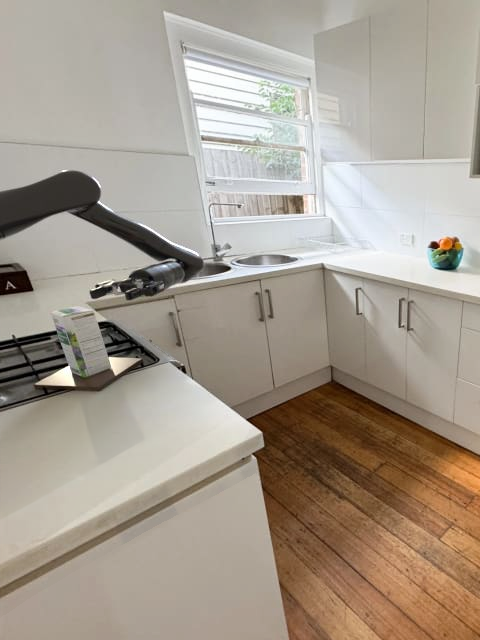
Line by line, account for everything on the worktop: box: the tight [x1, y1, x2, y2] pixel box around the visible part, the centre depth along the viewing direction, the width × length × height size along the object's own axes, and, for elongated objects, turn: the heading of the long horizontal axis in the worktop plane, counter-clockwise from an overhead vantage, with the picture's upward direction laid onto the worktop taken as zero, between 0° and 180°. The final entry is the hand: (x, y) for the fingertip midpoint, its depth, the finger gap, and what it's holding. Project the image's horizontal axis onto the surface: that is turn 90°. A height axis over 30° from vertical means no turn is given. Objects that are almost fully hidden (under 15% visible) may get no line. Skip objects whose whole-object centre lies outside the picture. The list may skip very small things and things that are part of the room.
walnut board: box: [33, 356, 144, 392], centre depth 88 cm, size 14×14×1 cm
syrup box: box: [50, 305, 111, 378], centre depth 85 cm, size 6×6×14 cm
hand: (109, 295), depth 91 cm, fingers open, 8 cm apart
